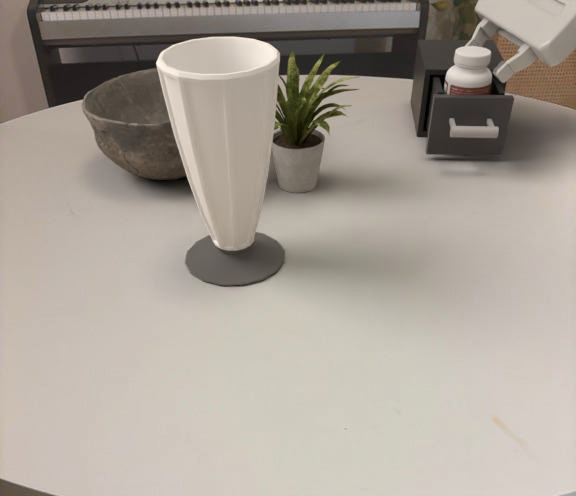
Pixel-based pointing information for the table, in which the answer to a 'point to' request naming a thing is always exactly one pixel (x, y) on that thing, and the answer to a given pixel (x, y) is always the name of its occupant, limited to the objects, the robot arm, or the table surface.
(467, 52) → the pill bottle
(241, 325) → the table surface
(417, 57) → the cabinet
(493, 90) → the drawer
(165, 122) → the bowl
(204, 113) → the cup
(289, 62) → the house plant
